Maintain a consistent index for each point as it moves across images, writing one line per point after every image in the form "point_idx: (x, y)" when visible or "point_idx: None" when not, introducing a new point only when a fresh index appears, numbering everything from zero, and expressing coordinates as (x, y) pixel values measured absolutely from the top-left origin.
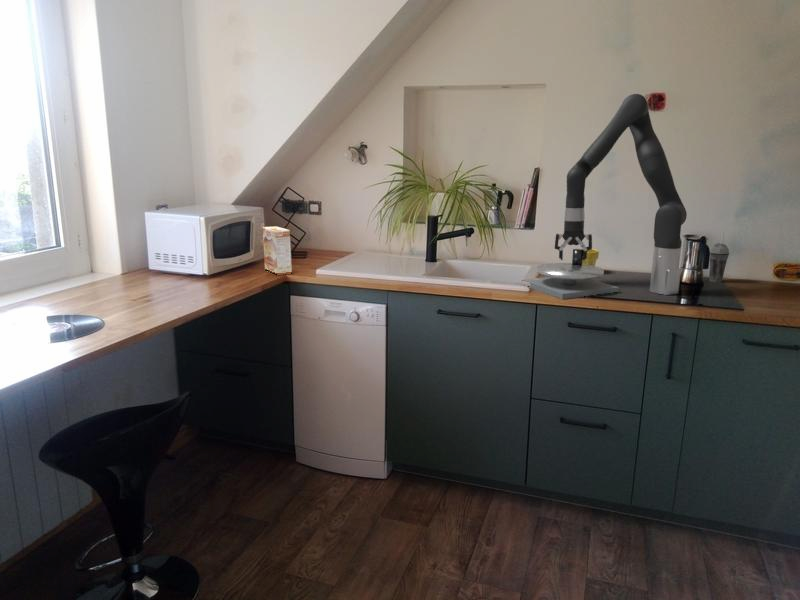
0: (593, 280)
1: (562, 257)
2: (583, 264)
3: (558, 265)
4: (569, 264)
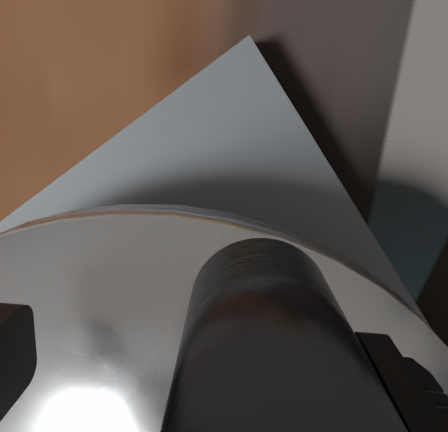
0: (393, 286)
1: (11, 406)
2: (346, 287)
3: (26, 400)
4: (158, 319)
